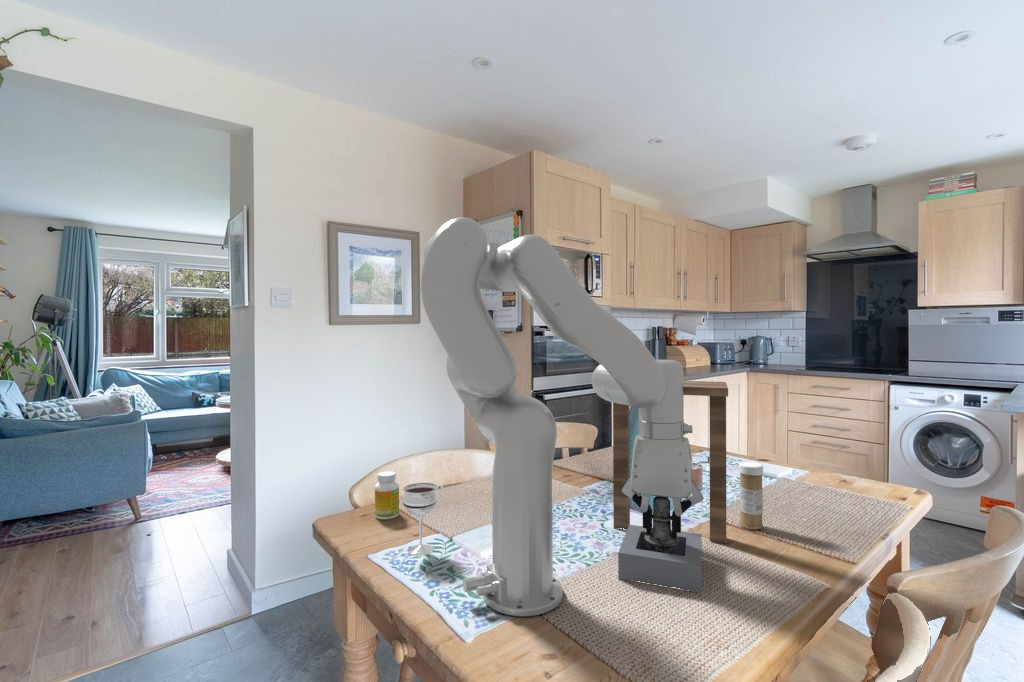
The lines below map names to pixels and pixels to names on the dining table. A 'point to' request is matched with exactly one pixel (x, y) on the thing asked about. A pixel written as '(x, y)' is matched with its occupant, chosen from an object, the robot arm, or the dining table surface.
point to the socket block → (661, 561)
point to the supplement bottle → (386, 496)
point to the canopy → (717, 456)
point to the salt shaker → (661, 528)
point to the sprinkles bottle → (751, 495)
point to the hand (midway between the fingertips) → (661, 533)
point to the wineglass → (420, 509)
